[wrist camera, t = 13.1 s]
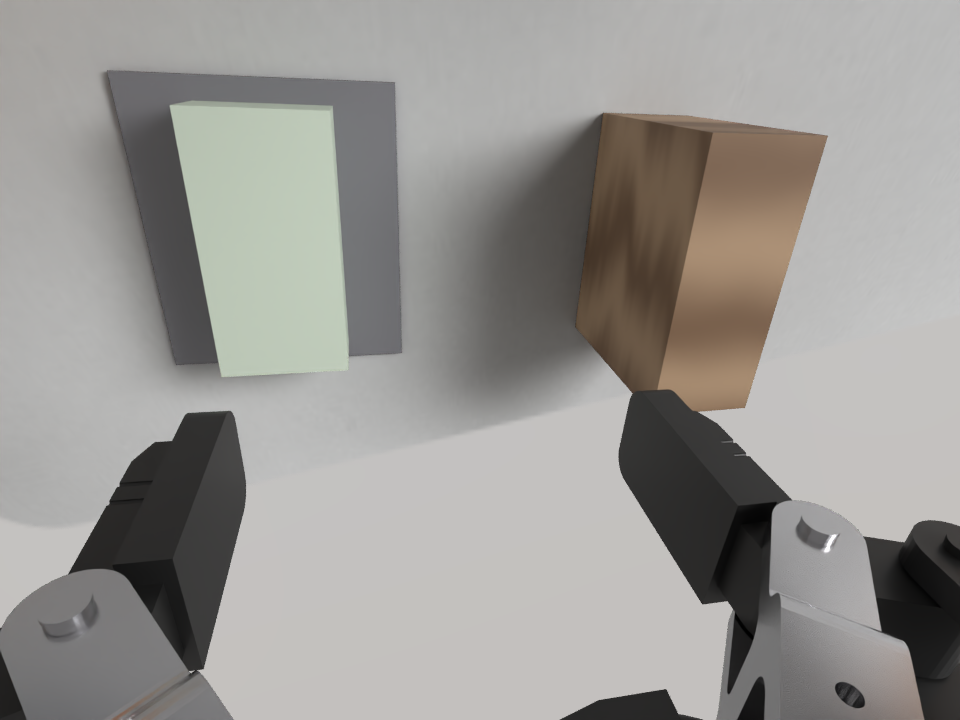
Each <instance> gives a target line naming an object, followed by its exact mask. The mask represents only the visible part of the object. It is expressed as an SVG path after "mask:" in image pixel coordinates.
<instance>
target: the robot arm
mask: <svg viewBox="0 0 960 720" xmlns="http://www.w3.org/2000/svg"><path fill="white" fill-rule="evenodd" d="M619 465H620V470H621V473H622V476H623V478H624V480H625V482H626V483H627V485H628V486H629V488H630V490H631V491H632V493H633V494H634V496H635V498H636V499H637V501H638V502H639V504H640V506H641V507H642V509H643V510H644V512H645V514H646V515H647V517H648V518H649V520H650V522H651V523H652V525H653V526H654V528H655V529H656V531H657V533H658V534H659V536H660V538H661V539H662V541H663V542H664V544H665V546H666V547H667V549H668V550H669V552H670V554H671V555H672V557H673V558H674V560H675V561H676V563H677V565H678V566H679V568H680V570H681V571H682V573H683V574H684V576H685V577H686V579H687V581H688V582H689V584H690V585H691V587H692V589H693V590H694V592H695V593H696V595H697V597H698V598H699V600H700V601H701V603H702V604H709V603H717V602H724V601H728V602H729V604H730V605H731V607H732V608H733V611H732V613H731V616H730V618H729V622H728V629H727V630H728V631H727V639H726V648H725V656H724V665H723V666H724V667H723V675H722V683H721V692H720V701H719V709H718V714H717V719H716V720H960V526H957V525H954V524H950V523H946V522H942V521H931V520H928V521H922V522H919V523H917V524H916V525H915V526H914V527H913V529H912V531H911V533H910V534H909V536H908V538H907V540H906V541H905V543H903V542H896V541H890V540H884V539H877V538H870V537H864V536H862V534H861V533H860V532H859V530H858V529H857V528H856V527H855V526H854V525H853V524H852V523H850V522H849V521H848V520H847V519H845V518H844V517H842V516H841V515H839V514H837V513H836V512H834V511H832V510H830V509H828V508H825V507H823V506H820V505H817V504H814V503H810V502H805V501H796V500H794V501H792V500H791V498H789V496H788V495H787V494H786V493H785V492H784V491H783V490H782V489H781V488H780V487H779V486H778V485H777V484H776V483H775V482H774V481H773V480H772V479H771V478H770V477H769V476H768V475H767V474H766V473H765V472H764V471H763V470H762V469H761V468H760V467H759V466H758V465H757V464H756V463H755V462H754V461H753V460H752V459H751V457H749V456H746V452H745V451H744V450H743V449H742V448H741V447H740V446H739V445H738V444H737V443H733V439H732V438H731V437H730V436H729V435H728V434H727V433H726V432H725V431H724V430H723V429H722V428H721V427H720V426H719V425H718V424H717V423H715V422H714V421H712V420H710V419H709V418H707V417H705V416H704V415H702V414H700V413H698V412H697V411H692V410H691V409H690V408H689V407H688V406H687V405H686V404H685V403H684V401H683V400H682V399H681V398H680V397H679V396H678V395H677V394H676V393H675V392H674V391H672V390H670V389H664V390H645V391H636V392H634V393H633V394H632V396H631V398H630V402H629V406H628V411H627V415H626V420H625V424H624V429H623V434H622V438H621V443H620V448H619ZM245 499H246V480H245V472H244V467H243V461H242V456H241V450H240V444H239V439H238V433H237V427H236V422H235V418H234V415H233V413H232V412H231V411H219V412H199V413H187V414H186V415H185V416H184V418H183V420H182V422H181V424H180V426H179V428H178V430H177V432H176V434H175V436H174V439H173V441H167V442H155V443H153V444H152V445H151V446H150V447H148V448H147V449H146V450H145V451H144V452H142V453H141V454H140V455H139V456H138V457H136V458H135V459H134V460H133V461H132V462H131V464H130V465H129V467H128V469H127V471H126V472H125V474H124V476H123V478H122V480H121V481H120V487H117V488H116V490H115V492H114V494H113V495H112V497H111V499H110V504H109V505H108V506H106V508H105V510H104V511H103V513H102V515H101V517H100V519H99V520H98V522H97V524H96V526H95V527H94V529H93V531H92V533H91V535H90V536H89V538H88V540H87V542H86V543H85V545H84V547H83V549H82V550H81V552H80V554H79V556H78V558H77V559H76V561H75V563H74V565H73V566H72V568H71V570H70V572H69V574H68V575H66V576H62V577H60V578H58V579H55V580H53V581H51V582H49V583H48V584H46V585H44V586H42V587H40V588H39V589H37V590H36V591H34V592H33V593H31V594H30V595H29V596H28V597H26V598H25V599H24V600H23V601H22V602H21V603H20V604H19V605H17V606H16V608H14V610H13V611H12V612H11V613H10V615H9V616H8V617H7V619H6V621H5V622H4V624H3V626H2V628H0V720H233V718H232V716H231V715H230V713H229V712H228V711H227V709H226V708H225V706H224V705H223V703H222V702H221V700H220V699H219V697H218V696H217V694H216V693H215V691H214V690H213V689H212V687H211V686H210V684H209V683H208V682H207V680H206V679H205V678H204V676H203V675H201V673H200V672H198V671H197V670H201V669H204V665H205V661H206V657H207V653H208V649H209V645H210V642H211V638H212V634H213V630H214V626H215V622H216V618H217V614H218V610H219V606H220V602H221V598H222V595H223V590H224V587H225V583H226V579H227V575H228V571H229V567H230V563H231V559H232V555H233V551H234V548H235V544H236V539H237V536H238V532H239V528H240V524H241V520H242V516H243V512H244V508H245ZM193 670H195V671H194V672H192V673H190V672H189V671H193ZM560 720H702V719H698V718H694V717H690V716H686V715H680V714H678V713H677V711H676V709H675V706H674V704H673V702H672V700H671V698H670V696H669V694H668V692H667V690H666V689H664V690H659V691H653V692H646V693H640V694H634V695H628V696H622V697H616V698H610V699H603V700H598V701H596V702H594V703H592V704H590V705H588V706H586V707H584V708H582V709H580V710H578V711H577V712H574V713H572V714H570V715H568V716H566V717H564V718H562V719H560Z"/></svg>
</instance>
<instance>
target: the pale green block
mask: <svg viewBox="0 0 960 720" xmlns="http://www.w3.org/2000/svg"><path fill="white" fill-rule="evenodd" d="M170 110H171V116H172V121H173V126H174V131H175V137H176V142H177V147H178V152H179V158H180V163H181V168H182V173H183V179H184V184H185V189H186V194H187V200H188V205H189V210H190V215H191V221H192V226H193V231H194V236H195V242H196V247H197V252H198V257H199V262H200V268H201V273H202V278H203V283H204V289H205V294H206V299H207V304H208V310H209V315H210V320H211V325H212V331H213V336H214V341H215V346H216V352H217V357H218V362H219V367H220V373H221V377H235V376H253V375H271V374H289V373H308V372H326V371H344V370H349V337H348V322H347V308H346V293H345V279H344V264H343V250H342V235H341V221H340V206H339V192H338V177H337V163H336V148H335V134H334V119H333V106H326V105H300V104H273V103H246V102H219V101H193V100H192V101H187V102H182V103H177V104H173V105H170Z"/></svg>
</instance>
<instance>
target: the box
mask: <svg viewBox="0 0 960 720" xmlns="http://www.w3.org/2000/svg"><path fill="white" fill-rule="evenodd" d="M827 137H828V136H826V135H819V134H812V133H805V132H798V131H791V130H784V129H777V128H770V127H763V126H756V125H749V124H742V123H735V122H728V121H721V120H714V119H707V118H700V117H693V116H680V115H650V114H621V113H603V119H602V126H601V134H600V142H599V149H598V157H597V164H596V172H595V180H594V187H593V195H592V203H591V210H590V218H589V226H588V233H587V241H586V249H585V256H584V264H583V272H582V279H581V287H580V295H579V302H578V310H577V318H576V325H575V327H576V328H577V329H578V331H579V332H580V333H581V334H582V335H583V336H584V338H585V339H586V340H587V341H588V342H589V343H590V344H591V346H592V347H593V348H594V349H595V350H596V351H597V353H598V354H599V355H600V356H601V357H602V358H603V360H604V361H605V362H606V363H607V364H608V365H609V366H610V368H611V369H612V370H613V371H614V372H615V373H616V375H617V376H618V377H619V378H620V379H621V380H622V382H623V383H624V384H625V385H626V386H627V387H628V388H629V390H630V391H631V392H632V393H634V392H636V391H645V390H664V389H670V390H672V391H674V392H675V393H676V394H677V395H678V396H679V397H680V398H681V399H682V400H683V401H684V403H685V404H686V405H687V406H688V407H689V408H690V409H691V410H692V411H697V412H700V411H712V410H724V409H736V408H745V406H746V403H747V399H748V396H749V393H750V389H751V386H752V383H753V380H754V376H755V373H756V370H757V366H758V363H759V360H760V357H761V353H762V350H763V347H764V344H765V340H766V337H767V334H768V330H769V327H770V324H771V321H772V317H773V314H774V311H775V307H776V304H777V301H778V298H779V294H780V291H781V288H782V284H783V281H784V278H785V275H786V271H787V268H788V265H789V262H790V258H791V255H792V252H793V248H794V245H795V242H796V239H797V235H798V232H799V229H800V225H801V222H802V219H803V216H804V212H805V209H806V206H807V202H808V199H809V196H810V193H811V189H812V186H813V183H814V180H815V176H816V173H817V170H818V166H819V163H820V160H821V157H822V153H823V150H824V147H825V143H826V140H827Z"/></svg>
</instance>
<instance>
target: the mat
mask: <svg viewBox="0 0 960 720" xmlns="http://www.w3.org/2000/svg"><path fill="white" fill-rule="evenodd" d="M107 73H108V77H109V81H110V86H111V90H112V94H113V98H114V103H115V107H116V111H117V115H118V120H119V124H120V128H121V132H122V137H123V141H124V145H125V149H126V154H127V158H128V162H129V166H130V171H131V175H132V179H133V183H134V188H135V192H136V196H137V200H138V205H139V209H140V213H141V217H142V222H143V226H144V230H145V234H146V239H147V243H148V247H149V251H150V256H151V260H152V264H153V268H154V273H155V277H156V281H157V285H158V290H159V294H160V298H161V302H162V307H163V311H164V315H165V319H166V324H167V328H168V332H169V336H170V341H171V345H172V349H173V353H174V358H175V362H176V365H184V364H202V363H219V362H218V357H217V352H216V346H215V341H214V336H213V331H212V325H211V320H210V315H209V310H208V304H207V299H206V294H205V289H204V283H203V278H202V273H201V268H200V262H199V257H198V252H197V247H196V242H195V236H194V231H193V226H192V221H191V215H190V210H189V205H188V200H187V194H186V189H185V184H184V179H183V173H182V168H181V163H180V158H179V152H178V147H177V142H176V137H175V131H174V126H173V121H172V116H171V110H170V105H173V104H177V103H182V102H187V101H192V100H193V101H219V102H246V103H273V104H300V105H326V106H333V119H334V134H335V148H336V163H337V177H338V192H339V206H340V221H341V235H342V250H343V264H344V279H345V293H346V308H347V322H348V337H349V356H353V355H372V354H391V353H402V344H401V305H400V266H399V227H398V188H397V149H396V110H395V82H372V81H348V80H324V79H301V78H277V77H253V76H229V75H205V74H181V73H158V72H134V71H110V70H109V71H107Z"/></svg>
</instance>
